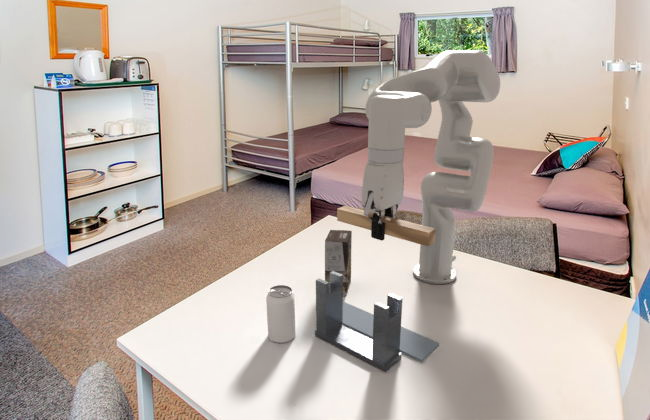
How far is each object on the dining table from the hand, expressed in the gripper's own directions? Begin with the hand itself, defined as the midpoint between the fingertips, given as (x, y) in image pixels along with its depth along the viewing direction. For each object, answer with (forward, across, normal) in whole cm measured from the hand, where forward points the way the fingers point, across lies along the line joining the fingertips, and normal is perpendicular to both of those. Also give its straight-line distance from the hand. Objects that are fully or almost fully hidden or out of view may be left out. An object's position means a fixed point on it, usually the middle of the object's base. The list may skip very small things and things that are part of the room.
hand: (382, 235), depth 101 cm
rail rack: (+25, +9, 0) cm, 26 cm away
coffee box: (+25, -10, -21) cm, 34 cm away
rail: (-1, 0, 0) cm, 1 cm away
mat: (+25, 0, 0) cm, 25 cm away
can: (+25, +17, -16) cm, 34 cm away
